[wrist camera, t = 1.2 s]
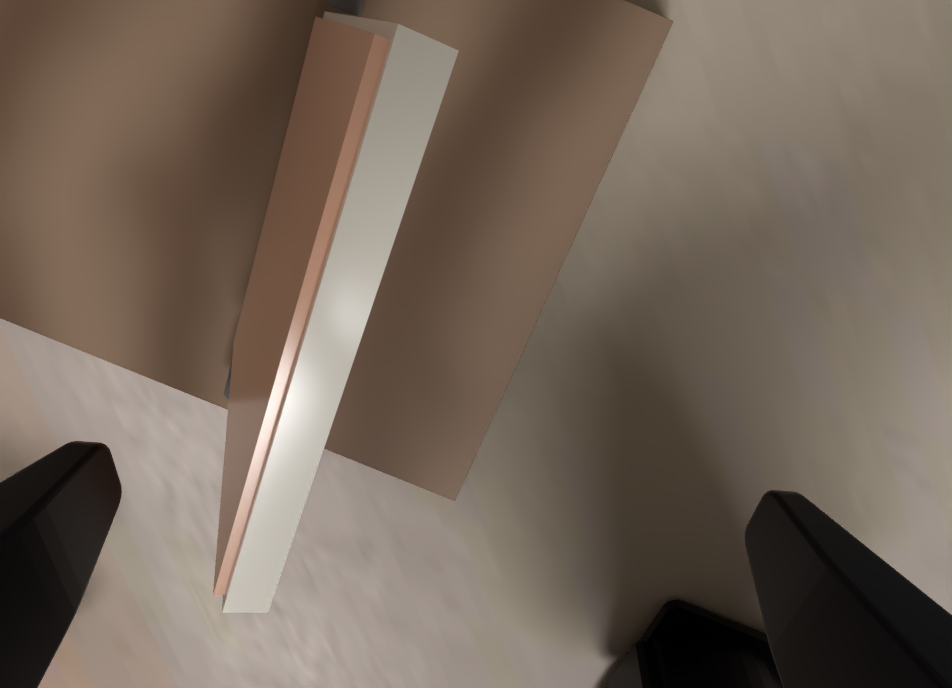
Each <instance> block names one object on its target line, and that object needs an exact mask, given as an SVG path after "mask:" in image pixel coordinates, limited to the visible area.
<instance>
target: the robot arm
mask: <svg viewBox="0 0 952 688" xmlns="http://www.w3.org/2000/svg"><path fill="white" fill-rule="evenodd" d="M121 493H122V491H121V483H120V480H119V477H118V474H117V471H116V467H115V464H114V461H113V458H112V455H111V452H110V449H109V448H108V447H107V446H106V445H105V444H103V443H97V442H82V441H74V442H70V443H67V444H65V445H63V446H62V447H60V448H58V449H56V450H55V451H53V452H51V453H50V454H48V455H46V456H45V457H43V458H41V459H39V460H38V461H36V462H34V463H33V464H31V465H29V466H28V467H26V468H24V469H22V470H21V471H19V472H17V473H16V474H14V475H12V476H11V477H9V478H7V479H5V480H4V481H2V482H0V688H38V686H39V684H40V682H41V680H42V678H43V676H44V674H45V672H46V670H47V668H48V667H49V665H50V663H51V661H52V659H53V657H54V655H55V653H56V651H57V649H58V647H59V645H60V644H61V642H62V640H63V638H64V636H65V634H66V632H67V630H68V628H69V626H70V624H71V622H72V620H73V618H74V616H75V614H76V612H77V609H78V607H79V605H80V602H81V600H82V598H83V595H84V593H85V590H86V588H87V585H88V583H89V580H90V577H91V575H92V572H93V570H94V567H95V565H96V562H97V560H98V557H99V555H100V552H101V549H102V547H103V544H104V542H105V539H106V537H107V534H108V532H109V529H110V527H111V524H112V522H113V519H114V516H115V514H116V511H117V509H118V506H119V503H120V500H121ZM745 545H746V550H747V554H748V558H749V562H750V566H751V571H752V575H753V579H754V583H755V588H756V592H757V596H758V600H759V605H760V609H761V613H762V617H763V622H764V626H765V630H766V634H764V633H762V632H759V631H757V630H754V629H752V628H749V627H747V626H744V625H742V624H739V623H737V622H734V621H732V620H729V619H727V618H724V617H722V616H719V615H717V614H714V613H712V612H709V611H707V610H704V609H702V608H699V607H697V606H694V605H692V604H690V603H687V602H685V601H682V600H671V601H668V602H667V603H666V604H665V605H664V606H663V607H662V609H661V610H660V612H659V613H658V615H657V616H656V617H655V619H654V620H653V622H652V623H651V625H650V626H649V628H648V629H647V631H646V632H645V634H644V635H643V637H642V638H641V640H639V641H637V642H636V643H634V644H633V646H632V647H631V649H630V650H629V652H628V653H627V655H626V656H625V658H624V659H623V661H622V662H621V664H620V665H619V667H618V668H617V670H616V671H615V673H614V674H613V676H612V677H611V679H610V680H609V682H608V683H607V688H952V615H951V614H950V613H948V612H947V611H946V610H945V609H943V608H942V607H941V606H940V605H938V604H937V603H936V602H935V601H933V600H932V599H931V598H930V597H928V596H927V595H926V594H925V593H923V592H922V591H921V590H920V589H919V588H917V587H916V586H915V585H914V584H912V583H911V582H910V581H909V580H907V579H906V578H905V577H904V576H902V575H901V574H900V573H899V572H897V571H896V570H895V569H894V568H892V567H891V566H890V565H889V564H887V563H886V562H885V561H884V560H882V559H881V558H880V557H879V556H877V555H876V554H875V553H874V552H873V551H871V550H870V549H869V548H868V547H866V546H865V545H864V544H863V543H861V542H860V541H859V540H858V539H856V538H855V537H854V536H853V535H851V534H850V533H849V532H848V531H846V530H845V529H844V528H843V527H841V526H840V525H839V524H838V523H836V522H835V521H834V520H833V519H831V518H830V517H829V516H828V515H826V514H825V513H824V512H823V511H822V510H820V509H819V508H818V507H817V506H815V505H814V504H813V503H812V502H810V501H809V500H808V499H807V498H805V497H804V496H803V495H801V494H799V493H797V492H791V491H778V490H771V491H768V492H767V493H765V494H764V495H763V497H762V499H761V501H760V502H759V504H758V506H757V508H756V510H755V512H754V514H753V515H752V517H751V519H750V521H749V523H748V525H747V527H746V531H745ZM675 613H682V614H680V615H677V616H675V615H673V614H675Z"/></svg>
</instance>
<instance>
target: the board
mask: <svg viewBox="0 0 952 688" xmlns="http://www.w3.org/2000/svg"><path fill="white" fill-rule="evenodd" d="M324 12H331V13H337V14H343V15H350V16H356V17H362V18H368V19H374V20H380V21H386V22H392V23H398V24H400V25H403V26H405V27H407V28H409V29H412V30H414V31H416V32H418V33H420V34H423V35H425V36H427V37H429V38H432V39H434V40H436V41H438V42H441V43H443V44H445V45H447V46H450V47H452V48H454V49H456V50H459V52H458V55H457V58H456V60H455V63H454V66H453V69H452V72H451V75H450V78H449V81H448V84H447V87H446V90H445V93H444V96H443V99H442V102H441V105H440V108H439V111H438V114H437V117H436V119H435V122H434V125H433V128H432V131H431V134H430V137H429V140H428V143H427V146H426V149H425V152H424V155H423V158H422V161H421V164H420V167H419V170H418V173H417V176H416V178H415V181H414V184H413V187H412V190H411V193H410V196H409V199H408V202H407V205H406V208H405V211H404V214H403V217H402V220H401V223H400V226H399V229H398V232H397V234H396V237H395V240H394V243H393V246H392V249H391V252H390V255H389V258H388V261H387V264H386V267H385V270H384V273H383V276H382V279H381V282H380V285H379V288H378V291H377V293H376V296H375V299H374V302H373V305H372V308H371V311H370V314H369V317H368V320H367V323H366V326H365V329H364V332H363V335H362V338H361V341H360V344H359V347H358V349H357V352H356V355H355V358H354V361H353V364H352V367H351V370H350V373H349V376H348V379H347V382H346V385H345V388H344V391H343V394H342V397H341V400H340V403H339V406H338V408H337V411H336V414H335V417H334V420H333V423H332V426H331V429H330V432H329V435H328V438H327V441H326V444H325V447H324V449H327V450H329V451H332V452H334V453H337V454H339V455H342V456H344V457H347V458H349V459H352V460H354V461H357V462H359V463H362V464H364V465H366V466H369V467H371V468H374V469H376V470H379V471H381V472H384V473H386V474H389V475H391V476H394V477H396V478H399V479H401V480H404V481H406V482H409V483H411V484H414V485H416V486H419V487H421V488H424V489H426V490H429V491H431V492H434V493H436V494H438V495H441V496H443V497H446V498H448V499H451V500H453V501H455V500H456V498H457V495H458V493H459V491H460V489H461V487H462V484H463V482H464V480H465V478H466V476H467V473H468V471H469V469H470V467H471V465H472V462H473V460H474V458H475V456H476V454H477V451H478V449H479V447H480V445H481V443H482V440H483V438H484V436H485V434H486V432H487V429H488V427H489V425H490V423H491V421H492V419H493V416H494V414H495V412H496V410H497V408H498V405H499V403H500V401H501V399H502V397H503V394H504V392H505V390H506V388H507V386H508V383H509V381H510V379H511V377H512V375H513V372H514V370H515V368H516V366H517V364H518V361H519V359H520V357H521V355H522V353H523V350H524V348H525V346H526V344H527V342H528V339H529V337H530V335H531V333H532V331H533V329H534V326H535V324H536V322H537V320H538V318H539V315H540V313H541V311H542V309H543V307H544V304H545V302H546V300H547V298H548V296H549V293H550V291H551V289H552V287H553V285H554V282H555V280H556V278H557V276H558V274H559V271H560V269H561V267H562V265H563V263H564V260H565V258H566V256H567V254H568V252H569V249H570V247H571V245H572V243H573V241H574V239H575V236H576V234H577V232H578V230H579V228H580V225H581V223H582V221H583V219H584V217H585V214H586V212H587V210H588V208H589V206H590V203H591V201H592V199H593V197H594V195H595V192H596V190H597V188H598V186H599V184H600V181H601V179H602V177H603V175H604V173H605V170H606V168H607V166H608V164H609V162H610V159H611V157H612V155H613V153H614V151H615V148H616V146H617V144H618V142H619V140H620V138H621V135H622V133H623V131H624V129H625V127H626V124H627V122H628V120H629V118H630V116H631V113H632V111H633V109H634V107H635V105H636V102H637V100H638V98H639V96H640V94H641V91H642V89H643V87H644V85H645V83H646V80H647V78H648V76H649V74H650V72H651V69H652V67H653V65H654V63H655V61H656V58H657V56H658V54H659V52H660V50H661V48H662V45H663V43H664V41H665V39H666V37H667V34H668V32H669V30H670V28H671V26H672V23H673V21H672V20H669V19H667V18H665V17H662V16H660V15H658V14H655V13H653V12H651V11H648V10H646V9H644V8H641V7H639V6H637V5H634V4H632V3H630V2H627V1H625V0H0V318H1V319H4V320H6V321H9V322H11V323H14V324H16V325H19V326H21V327H24V328H26V329H29V330H31V331H34V332H36V333H39V334H41V335H44V336H46V337H49V338H51V339H54V340H56V341H59V342H61V343H63V344H66V345H68V346H71V347H73V348H76V349H78V350H81V351H83V352H86V353H88V354H91V355H93V356H96V357H98V358H101V359H103V360H106V361H108V362H111V363H113V364H116V365H118V366H121V367H123V368H126V369H128V370H131V371H133V372H136V373H138V374H140V375H143V376H145V377H148V378H150V379H153V380H155V381H158V382H160V383H163V384H165V385H168V386H170V387H173V388H175V389H178V390H180V391H183V392H185V393H188V394H190V395H193V396H195V397H198V398H200V399H203V400H205V401H208V402H210V403H212V404H215V405H217V406H220V407H222V408H225V409H227V410H228V405H229V393H230V380H231V368H232V356H233V343H234V339H235V335H236V331H237V327H238V323H239V319H240V315H241V311H242V307H243V303H244V299H245V295H246V291H247V287H248V283H249V279H250V275H251V271H252V267H253V263H254V259H255V255H256V251H257V247H258V243H259V239H260V235H261V231H262V227H263V223H264V219H265V215H266V211H267V207H268V203H269V199H270V195H271V191H272V187H273V183H274V180H275V176H276V172H277V168H278V164H279V160H280V156H281V152H282V148H283V144H284V140H285V136H286V132H287V128H288V124H289V120H290V116H291V112H292V108H293V104H294V100H295V96H296V92H297V88H298V84H299V80H300V76H301V72H302V68H303V64H304V60H305V56H306V52H307V48H308V44H309V40H310V36H311V32H312V28H313V24H314V20H315V16H316V17H319V18H322V19H323V16H324Z"/></svg>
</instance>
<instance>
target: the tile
mask: <svg viewBox="0 0 952 688" xmlns="http://www.w3.org/2000/svg"><path fill="white" fill-rule="evenodd" d="M458 52H459V50H456V49H454V48H452V47H450V46H447V45H445V44H443V43H441V42H438V41H436V40H434V39H432V38H429V37H427V36H425V35H423V34H420V33H418V32H416V31H414V30H412V29H409V28H407V27H405V26H403V25H400V24H398V23H392V22H386V21H380V20H374V19H368V18H362V17H356V16H350V15H343V14H337V13H331V12H324V16H323V19H322V18H319V17H316V16H315V20H314V24H313V28H312V32H311V36H310V40H309V44H308V48H307V52H306V56H305V60H304V64H303V68H302V72H301V76H300V80H299V84H298V88H297V92H296V96H295V100H294V104H293V108H292V112H291V116H290V120H289V124H288V128H287V132H286V136H285V140H284V144H283V148H282V152H281V156H280V160H279V164H278V168H277V172H276V176H275V180H274V183H273V187H272V191H271V195H270V199H269V203H268V207H267V211H266V215H265V219H264V223H263V227H262V231H261V235H260V239H259V243H258V247H257V251H256V255H255V259H254V263H253V267H252V271H251V275H250V279H249V283H248V287H247V291H246V295H245V299H244V303H243V307H242V311H241V315H240V319H239V323H238V327H237V331H236V335H235V339H234V343H233V356H232V368H231V380H230V393H229V405H228V417H227V430H226V442H225V455H224V467H223V479H222V492H221V504H220V516H219V529H218V541H217V553H216V566H215V578H214V590H213V595H223V606H222V613H268V612H269V609H270V606H271V603H272V600H273V597H274V594H275V591H276V588H277V585H278V582H279V580H280V577H281V574H282V571H283V568H284V565H285V562H286V559H287V556H288V553H289V550H290V547H291V544H292V541H293V538H294V535H295V532H296V529H297V526H298V523H299V521H300V518H301V515H302V512H303V509H304V506H305V503H306V500H307V497H308V494H309V491H310V488H311V485H312V482H313V479H314V476H315V473H316V470H317V467H318V465H319V462H320V459H321V456H322V453H323V450H324V447H325V444H326V441H327V438H328V435H329V432H330V429H331V426H332V423H333V420H334V417H335V414H336V411H337V408H338V406H339V403H340V400H341V397H342V394H343V391H344V388H345V385H346V382H347V379H348V376H349V373H350V370H351V367H352V364H353V361H354V358H355V355H356V352H357V349H358V347H359V344H360V341H361V338H362V335H363V332H364V329H365V326H366V323H367V320H368V317H369V314H370V311H371V308H372V305H373V302H374V299H375V296H376V293H377V291H378V288H379V285H380V282H381V279H382V276H383V273H384V270H385V267H386V264H387V261H388V258H389V255H390V252H391V249H392V246H393V243H394V240H395V237H396V234H397V232H398V229H399V226H400V223H401V220H402V217H403V214H404V211H405V208H406V205H407V202H408V199H409V196H410V193H411V190H412V187H413V184H414V181H415V178H416V176H417V173H418V170H419V167H420V164H421V161H422V158H423V155H424V152H425V149H426V146H427V143H428V140H429V137H430V134H431V131H432V128H433V125H434V122H435V119H436V117H437V114H438V111H439V108H440V105H441V102H442V99H443V96H444V93H445V90H446V87H447V84H448V81H449V78H450V75H451V72H452V69H453V66H454V63H455V60H456V58H457V55H458Z"/></svg>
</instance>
